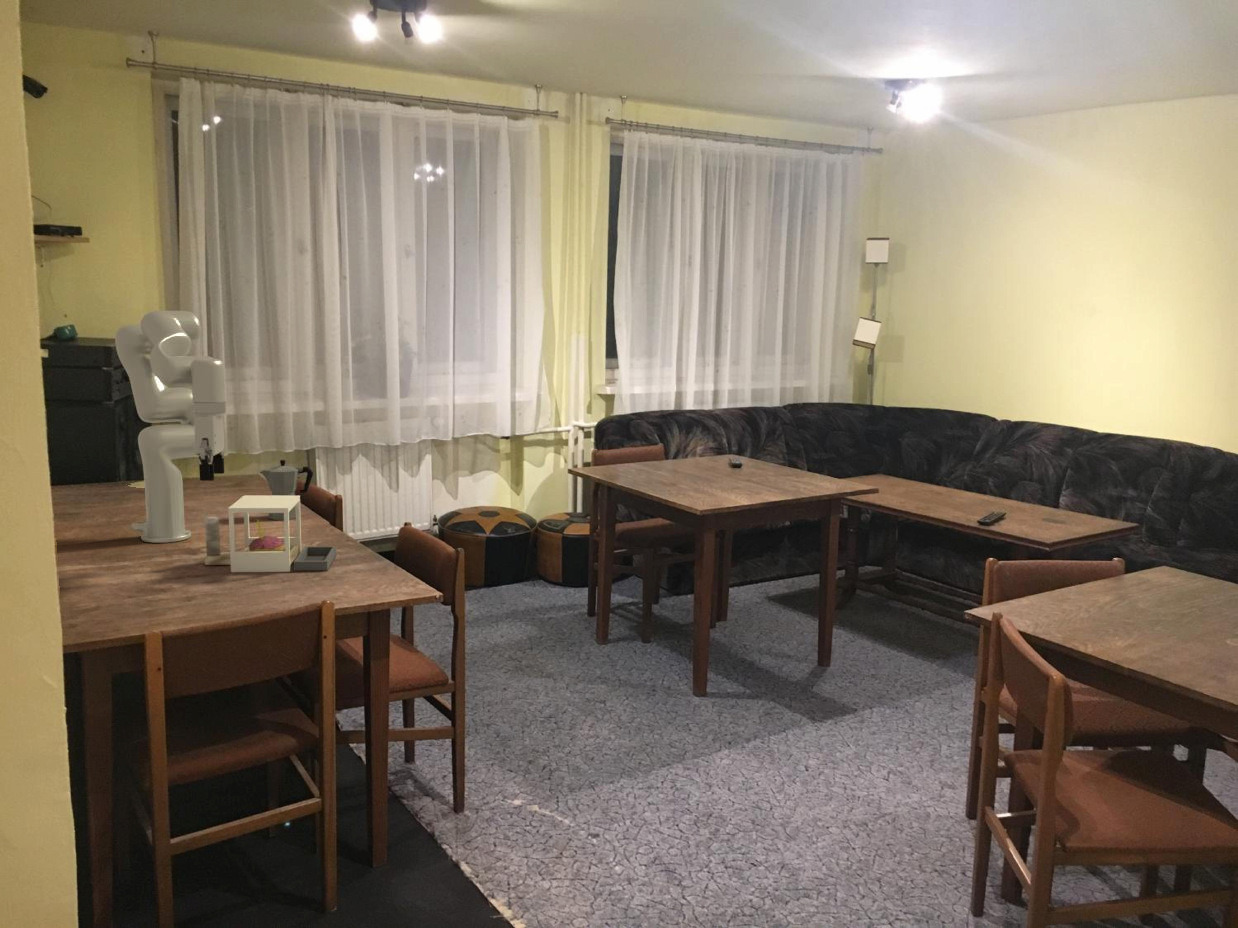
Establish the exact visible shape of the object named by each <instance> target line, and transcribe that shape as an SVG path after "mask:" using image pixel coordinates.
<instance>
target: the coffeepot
mask: <svg viewBox="0 0 1238 928" xmlns="http://www.w3.org/2000/svg"><path fill="white" fill-rule="evenodd" d="M279 462H280V463H279V464H280V465H278V466H274V467H270V468H267V469H266V468H265V469H263V470H262V469H261V470H260V472H259V473H260V474H262V475H263V477H264V478H265V480H266V481H267V482H268V485H269V490H270V492H271V495H280V496H296V491H297V489H298V480H299V479H298V478H299V474H305V473H307V474H306V476H305V482H304V485H303V489H300V490H299V492H300V494H305V493H308V491H309V488H310V484H311V481H312V479H313V476H314V472H313V470H312V469H311V468H310V467H309V466H296V467H294V466H289V465H286V460H285V459H281V460H279ZM268 518H269V519H270V520H272V521H284V513H268ZM291 519H292V520H296V505H295V506H294V507H293V508H292V509H291V510H290V511H289V521H291Z"/></svg>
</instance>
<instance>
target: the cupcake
mask: <svg viewBox="0 0 1238 928" xmlns="http://www.w3.org/2000/svg"><path fill="white" fill-rule="evenodd" d="M256 520H257V522H256V524H257V527H258V533H259V537H260V538H257V539H255V540H253V541H252V542H251V543H250V545H249V551H250V552H270V551H283V550H284V549H285V545H284V543H283V541H282V540H280V539H279V538H277V537H278V536H271V535H270V536H269V535H263V531H262V525H261V521H260V520H259V519H258V518H256Z"/></svg>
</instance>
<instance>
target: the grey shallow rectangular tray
mask: <svg viewBox="0 0 1238 928" xmlns="http://www.w3.org/2000/svg"><path fill="white" fill-rule="evenodd" d="M336 557H337V546H336V545H325V546H323V545H321V546H320V545H319V546H317V545H312V546H308V545H307V546H305V545H304V547H303V549H301V553H300V554H299V555H298V556H297V557H296V558H295V560H294V561H293V572H328V571H329V569H330V567H331V566H332V564H333V562H334V560H335V558H336Z"/></svg>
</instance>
